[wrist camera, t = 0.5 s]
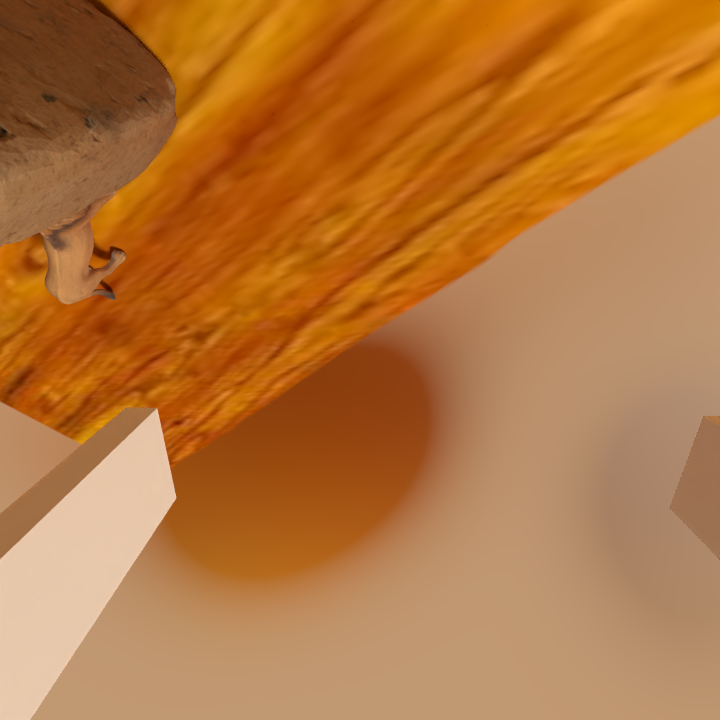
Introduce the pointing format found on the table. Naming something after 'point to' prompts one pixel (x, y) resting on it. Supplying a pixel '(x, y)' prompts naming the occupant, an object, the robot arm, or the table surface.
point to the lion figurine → (76, 257)
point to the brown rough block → (73, 111)
